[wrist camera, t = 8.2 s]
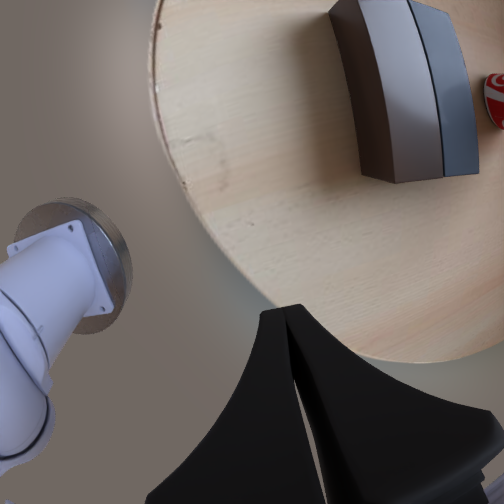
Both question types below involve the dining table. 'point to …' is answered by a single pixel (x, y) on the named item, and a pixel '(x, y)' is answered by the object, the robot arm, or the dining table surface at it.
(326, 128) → the dining table surface
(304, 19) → the dining table surface
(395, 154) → the walnut bar
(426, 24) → the slate bar
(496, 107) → the beverage can
